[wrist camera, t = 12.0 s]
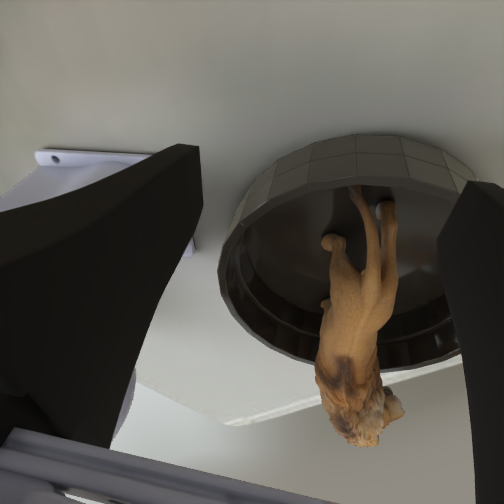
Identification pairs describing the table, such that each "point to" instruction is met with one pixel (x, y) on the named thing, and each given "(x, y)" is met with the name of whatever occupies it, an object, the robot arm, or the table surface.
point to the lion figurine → (358, 330)
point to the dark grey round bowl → (353, 230)
